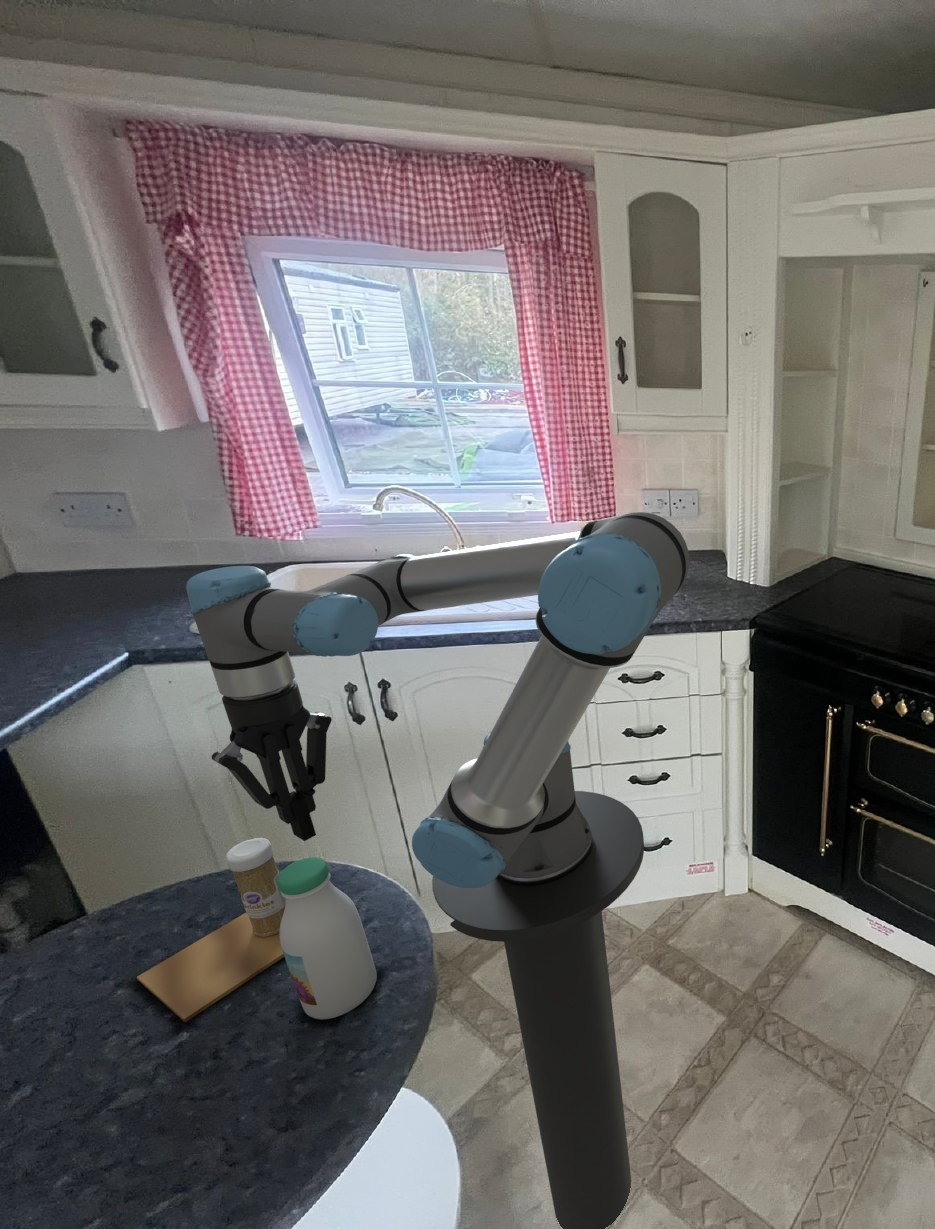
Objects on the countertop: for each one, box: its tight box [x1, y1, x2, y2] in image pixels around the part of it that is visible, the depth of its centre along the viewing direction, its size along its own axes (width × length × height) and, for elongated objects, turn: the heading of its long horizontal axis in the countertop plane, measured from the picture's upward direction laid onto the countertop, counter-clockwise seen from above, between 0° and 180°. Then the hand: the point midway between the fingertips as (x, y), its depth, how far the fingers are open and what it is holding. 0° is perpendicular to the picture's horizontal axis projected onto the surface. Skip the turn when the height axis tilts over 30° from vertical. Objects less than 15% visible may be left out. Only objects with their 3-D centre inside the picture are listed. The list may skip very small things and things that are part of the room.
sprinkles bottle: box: [225, 837, 286, 937], centre depth 88 cm, size 5×5×13 cm
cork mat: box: [136, 912, 285, 1023], centre depth 87 cm, size 16×12×1 cm
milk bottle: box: [277, 856, 378, 1020], centre depth 79 cm, size 8×8×20 cm
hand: (304, 834), depth 92 cm, fingers closed
